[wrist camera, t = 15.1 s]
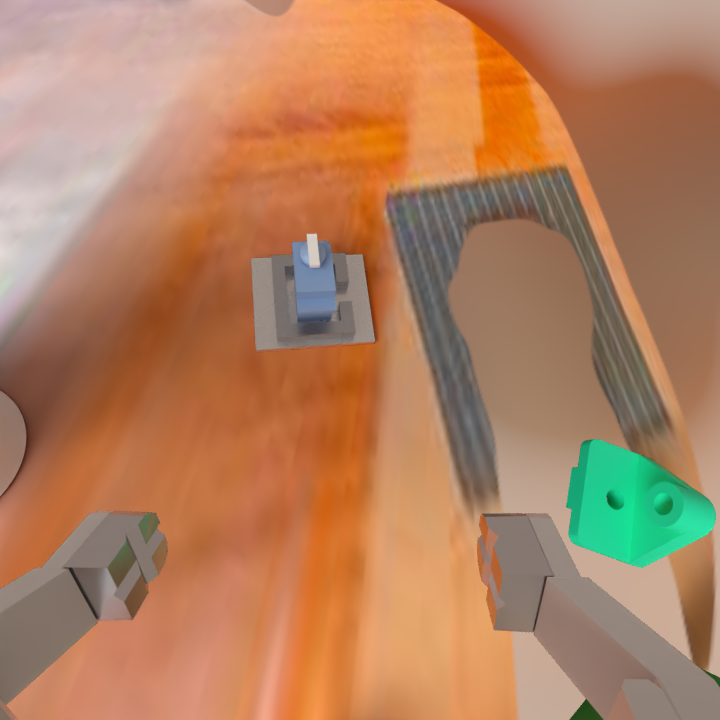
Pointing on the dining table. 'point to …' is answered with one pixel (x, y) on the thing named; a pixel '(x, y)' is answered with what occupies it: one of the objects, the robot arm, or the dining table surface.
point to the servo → (314, 279)
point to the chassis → (280, 312)
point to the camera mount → (632, 506)
